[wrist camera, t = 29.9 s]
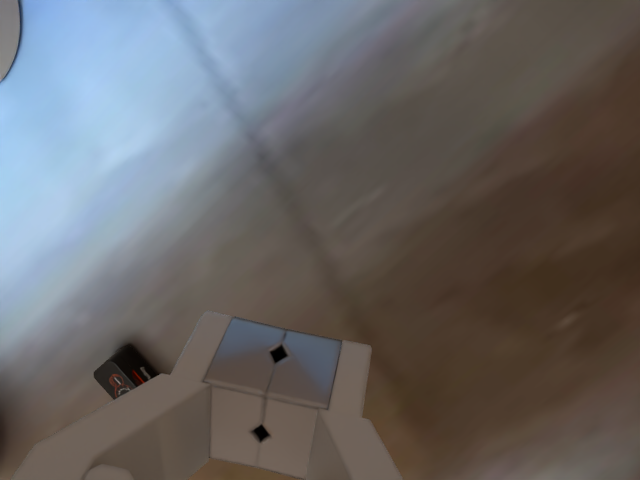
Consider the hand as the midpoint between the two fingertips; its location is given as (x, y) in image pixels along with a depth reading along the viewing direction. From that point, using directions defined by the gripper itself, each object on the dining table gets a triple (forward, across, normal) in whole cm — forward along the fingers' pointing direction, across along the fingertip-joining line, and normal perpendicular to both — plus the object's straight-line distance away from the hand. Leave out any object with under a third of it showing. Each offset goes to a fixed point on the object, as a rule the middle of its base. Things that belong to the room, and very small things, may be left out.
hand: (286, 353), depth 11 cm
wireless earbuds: (+28, -15, -34) cm, 47 cm away
